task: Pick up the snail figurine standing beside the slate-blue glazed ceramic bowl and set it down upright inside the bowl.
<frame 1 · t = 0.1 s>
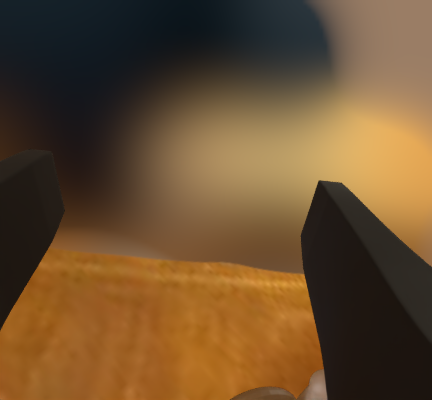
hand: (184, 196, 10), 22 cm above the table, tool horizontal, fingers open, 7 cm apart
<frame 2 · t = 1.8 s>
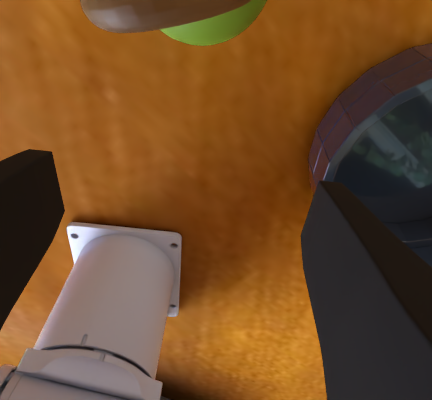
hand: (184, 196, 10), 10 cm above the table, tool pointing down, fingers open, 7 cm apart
bowl: (415, 150, 20), on the table
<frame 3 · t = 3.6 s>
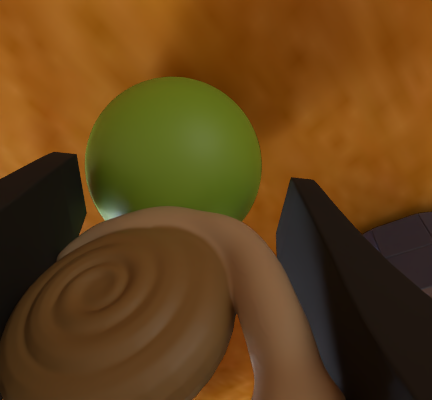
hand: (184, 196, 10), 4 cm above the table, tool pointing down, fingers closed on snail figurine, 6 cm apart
snail figurine: (199, 124, 14), on the table, touching gripper
bowl: (420, 292, 18), on the table
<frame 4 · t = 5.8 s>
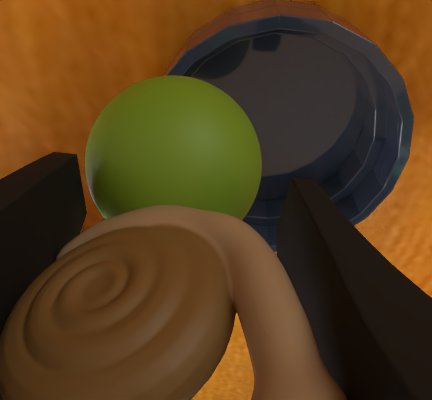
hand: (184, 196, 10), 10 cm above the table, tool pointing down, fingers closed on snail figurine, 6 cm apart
snail figurine: (199, 123, 14), point 6 cm above the table, touching gripper
bowl: (267, 122, 20), on the table
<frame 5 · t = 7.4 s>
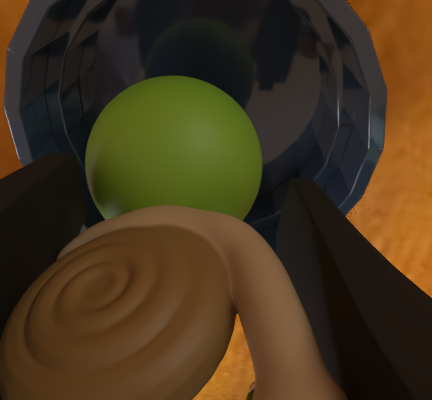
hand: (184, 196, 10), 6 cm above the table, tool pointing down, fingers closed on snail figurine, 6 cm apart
snail figurine: (200, 123, 14), point 2 cm above the table, touching gripper
bowl: (203, 105, 15), on the table
when the fingers open (5 cm above the table, at t = 8.4 s): snail figurine stays where it is, resting on bowl.
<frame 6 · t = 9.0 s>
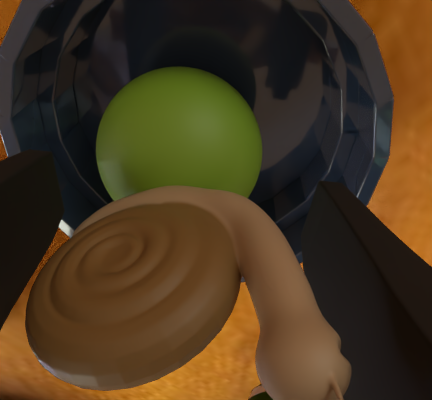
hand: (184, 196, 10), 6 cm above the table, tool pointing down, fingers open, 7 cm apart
beer can: (279, 393, 29), on the table
snail figurine: (202, 113, 14), resting on bowl
bowl: (202, 111, 14), on the table
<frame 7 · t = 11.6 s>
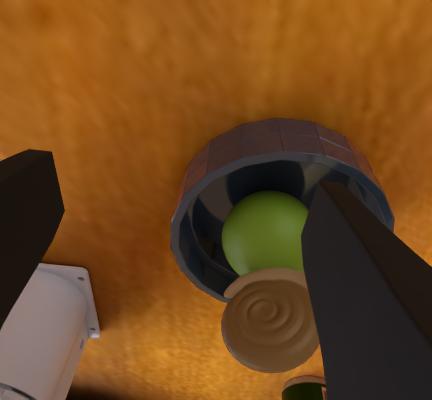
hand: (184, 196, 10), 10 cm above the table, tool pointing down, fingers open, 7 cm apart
beer can: (306, 385, 38), on the table
snail figurine: (274, 204, 23), resting on bowl
bowl: (273, 202, 23), on the table
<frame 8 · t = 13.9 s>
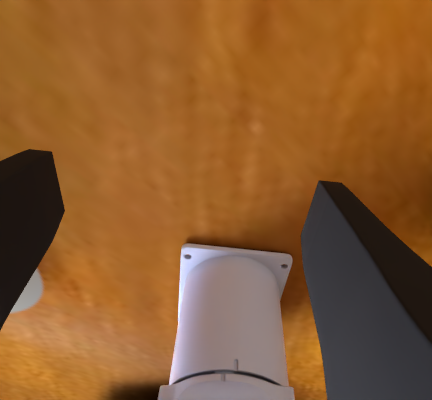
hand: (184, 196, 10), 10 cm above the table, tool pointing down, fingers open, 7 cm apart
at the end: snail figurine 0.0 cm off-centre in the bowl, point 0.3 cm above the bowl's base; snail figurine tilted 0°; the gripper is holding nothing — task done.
